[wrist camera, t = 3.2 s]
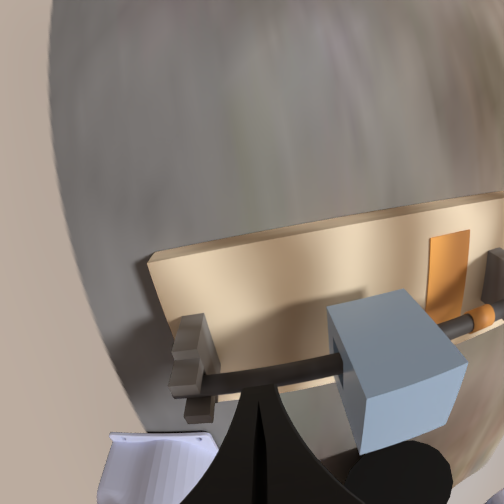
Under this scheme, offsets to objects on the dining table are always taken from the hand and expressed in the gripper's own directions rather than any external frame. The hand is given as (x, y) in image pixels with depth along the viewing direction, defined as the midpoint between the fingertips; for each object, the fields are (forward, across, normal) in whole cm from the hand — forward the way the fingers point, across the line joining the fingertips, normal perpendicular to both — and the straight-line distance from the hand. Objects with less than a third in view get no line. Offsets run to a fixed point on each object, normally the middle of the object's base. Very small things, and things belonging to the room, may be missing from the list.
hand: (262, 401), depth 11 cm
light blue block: (+3, -5, 0) cm, 6 cm away
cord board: (+6, -7, 0) cm, 10 cm away
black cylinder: (+7, -10, +34) cm, 36 cm away
